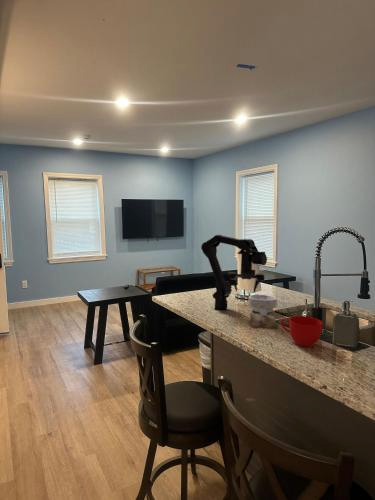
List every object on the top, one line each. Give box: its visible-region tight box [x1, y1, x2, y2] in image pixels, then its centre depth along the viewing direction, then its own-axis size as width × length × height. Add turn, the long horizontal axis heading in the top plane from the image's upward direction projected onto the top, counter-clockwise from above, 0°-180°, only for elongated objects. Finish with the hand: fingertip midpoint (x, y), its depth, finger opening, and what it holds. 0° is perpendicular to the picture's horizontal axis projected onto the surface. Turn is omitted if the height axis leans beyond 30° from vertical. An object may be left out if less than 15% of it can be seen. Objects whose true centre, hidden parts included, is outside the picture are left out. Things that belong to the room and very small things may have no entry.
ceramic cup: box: [280, 315, 324, 348], centre depth 140 cm, size 13×17×10 cm
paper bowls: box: [248, 294, 278, 314], centre depth 188 cm, size 15×15×8 cm
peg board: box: [249, 312, 279, 330], centre depth 168 cm, size 12×19×4 cm, turn 172°
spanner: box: [259, 309, 268, 323], centre depth 168 cm, size 3×11×4 cm, turn 166°
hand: (245, 292), depth 179 cm, fingers open, 9 cm apart
